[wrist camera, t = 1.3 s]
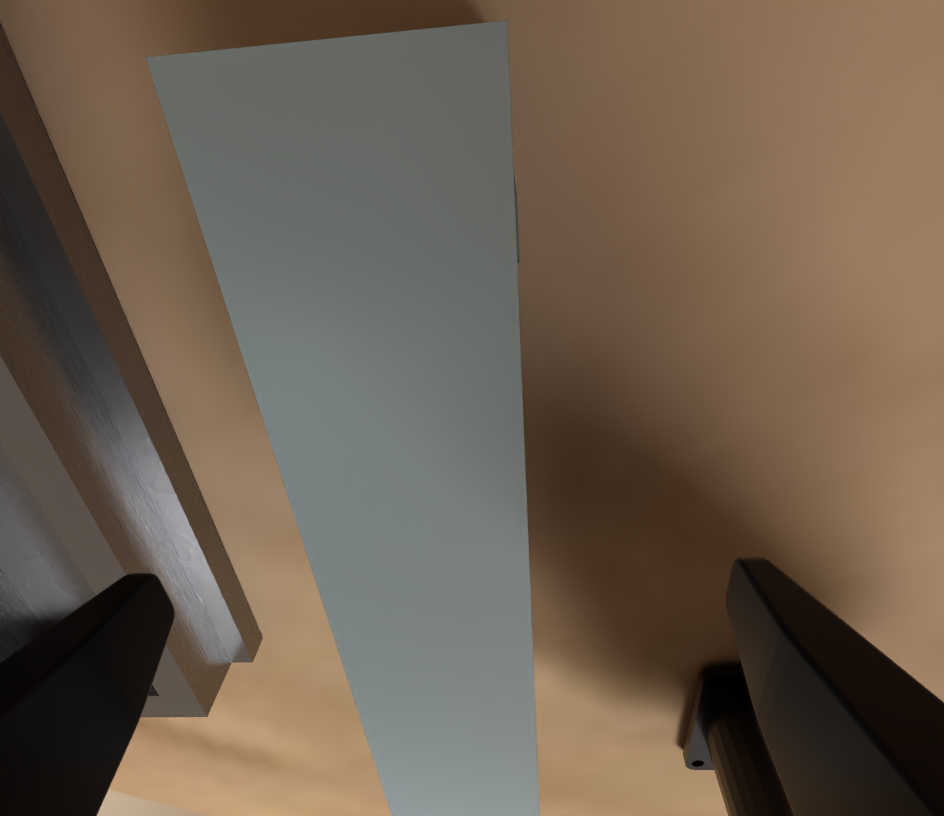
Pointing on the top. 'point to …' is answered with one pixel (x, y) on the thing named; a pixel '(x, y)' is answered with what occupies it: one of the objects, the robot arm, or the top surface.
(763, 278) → the top surface
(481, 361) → the door panel
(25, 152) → the floor track
